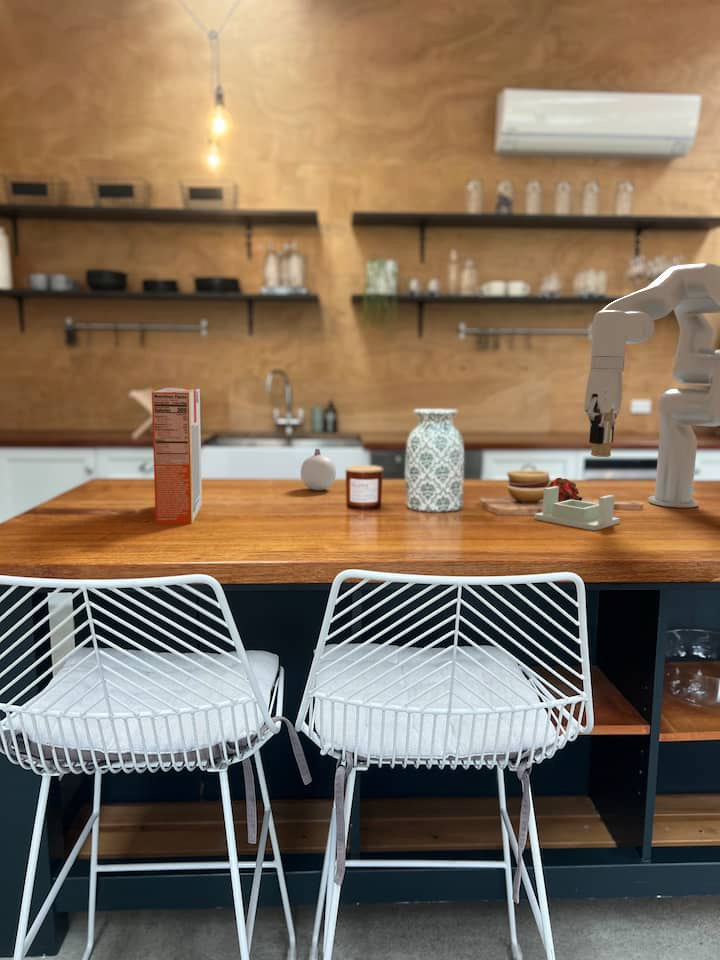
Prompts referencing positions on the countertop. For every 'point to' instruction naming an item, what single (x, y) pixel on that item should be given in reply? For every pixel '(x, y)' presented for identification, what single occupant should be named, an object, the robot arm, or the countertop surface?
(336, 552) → the countertop surface
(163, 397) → the orange cereal box
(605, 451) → the sprinkles bottle
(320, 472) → the ornament
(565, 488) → the dragon fruit
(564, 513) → the caddy
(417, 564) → the countertop surface
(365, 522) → the countertop surface
